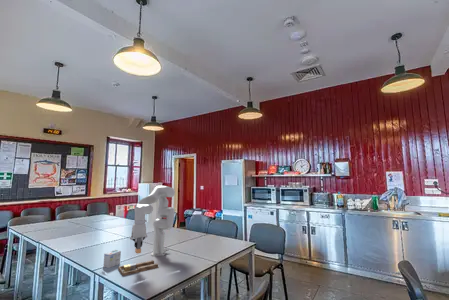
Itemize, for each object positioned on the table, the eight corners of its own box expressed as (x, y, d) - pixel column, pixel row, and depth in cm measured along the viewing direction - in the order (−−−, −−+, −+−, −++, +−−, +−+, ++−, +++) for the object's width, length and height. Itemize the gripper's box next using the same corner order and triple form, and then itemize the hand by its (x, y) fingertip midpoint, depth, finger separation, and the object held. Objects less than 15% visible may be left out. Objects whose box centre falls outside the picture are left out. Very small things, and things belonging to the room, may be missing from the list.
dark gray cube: (134, 268, 171) (134, 263, 171) (135, 270, 168) (136, 264, 168) (128, 269, 168) (129, 264, 169) (130, 271, 165) (130, 265, 166)
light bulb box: (114, 263, 183) (115, 249, 184) (120, 264, 180) (121, 250, 182) (102, 268, 173) (103, 253, 175) (109, 269, 171) (110, 254, 172)
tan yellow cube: (128, 269, 168) (129, 264, 169) (130, 271, 165) (130, 265, 166) (123, 271, 166) (123, 265, 166) (124, 273, 163) (124, 267, 163)
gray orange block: (139, 251, 174) (139, 236, 176) (140, 252, 171) (141, 237, 172) (135, 252, 173) (135, 237, 174) (136, 253, 169) (137, 238, 171)
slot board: (152, 263, 184) (152, 259, 184) (158, 268, 173) (158, 264, 173) (118, 270, 169) (118, 266, 169) (122, 277, 157) (122, 272, 158)
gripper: (148, 220, 182) (147, 244, 180) (127, 222, 172) (125, 247, 170) (151, 221, 176) (150, 246, 174) (129, 224, 167) (128, 250, 164)
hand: (138, 246), depth 172 cm, fingers closed on gray orange block, 2 cm apart
